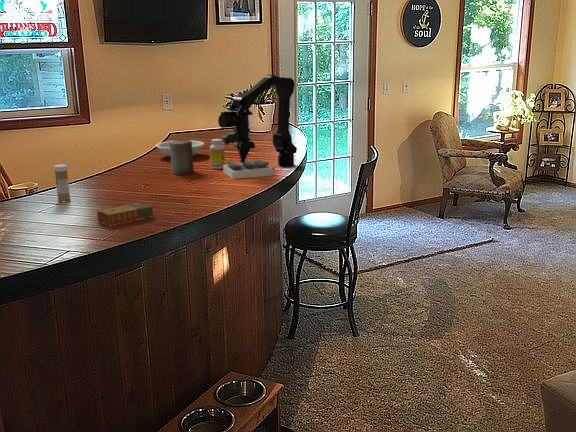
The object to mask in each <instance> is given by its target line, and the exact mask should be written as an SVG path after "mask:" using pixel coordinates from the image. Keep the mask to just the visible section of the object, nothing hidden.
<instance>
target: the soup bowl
mask: <svg viewBox="0 0 576 432" xmlns="http://www.w3.org/2000/svg"><path fill="white" fill-rule="evenodd" d="M189 140H190V139H189ZM172 141H173V140H169V141H163V142H159V143H156V144H155V147H156V148H158V149H159V151H160V152H161V153H162V154H163V155H165V156H166V157H169V158H171V153H170V142H172ZM190 141H192V153H193V156H194V155H196V154H197V153H198V152H199V151H200V150H201V149H202V147H203V146H204V145H205V141H204V142H203V141H200V140H190Z"/></svg>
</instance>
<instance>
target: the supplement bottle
mask: <svg viewBox="0 0 576 432" xmlns="http://www.w3.org/2000/svg"><path fill="white" fill-rule="evenodd" d="M225 151H226V149H225V146H224V145H223V139H222V138H221V139H220V138H214V139H211V145H210V146H209V157H210V158H209V161H210V168H211V169H214V170H218V169H223V165H226V153H225Z"/></svg>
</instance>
